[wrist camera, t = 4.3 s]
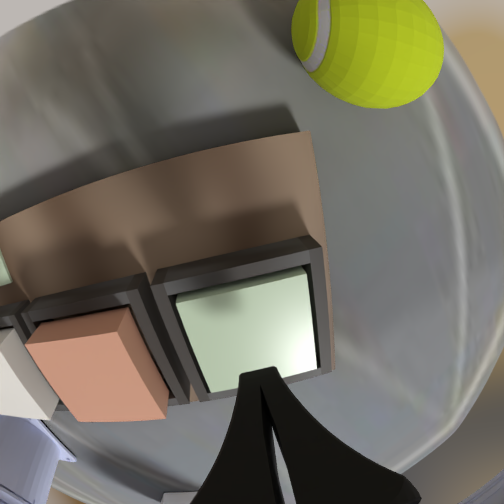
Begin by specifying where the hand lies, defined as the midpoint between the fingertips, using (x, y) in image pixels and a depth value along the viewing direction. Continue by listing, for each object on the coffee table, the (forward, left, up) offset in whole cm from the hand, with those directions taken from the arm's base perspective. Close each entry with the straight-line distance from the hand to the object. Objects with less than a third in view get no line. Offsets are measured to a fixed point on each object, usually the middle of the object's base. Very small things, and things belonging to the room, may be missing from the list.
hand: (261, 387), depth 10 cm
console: (-8, +2, -7) cm, 10 cm away
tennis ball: (+8, +13, -7) cm, 16 cm away
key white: (-16, 0, -4) cm, 16 cm away
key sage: (0, 0, -5) cm, 5 cm away
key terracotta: (-8, 0, -4) cm, 9 cm away
